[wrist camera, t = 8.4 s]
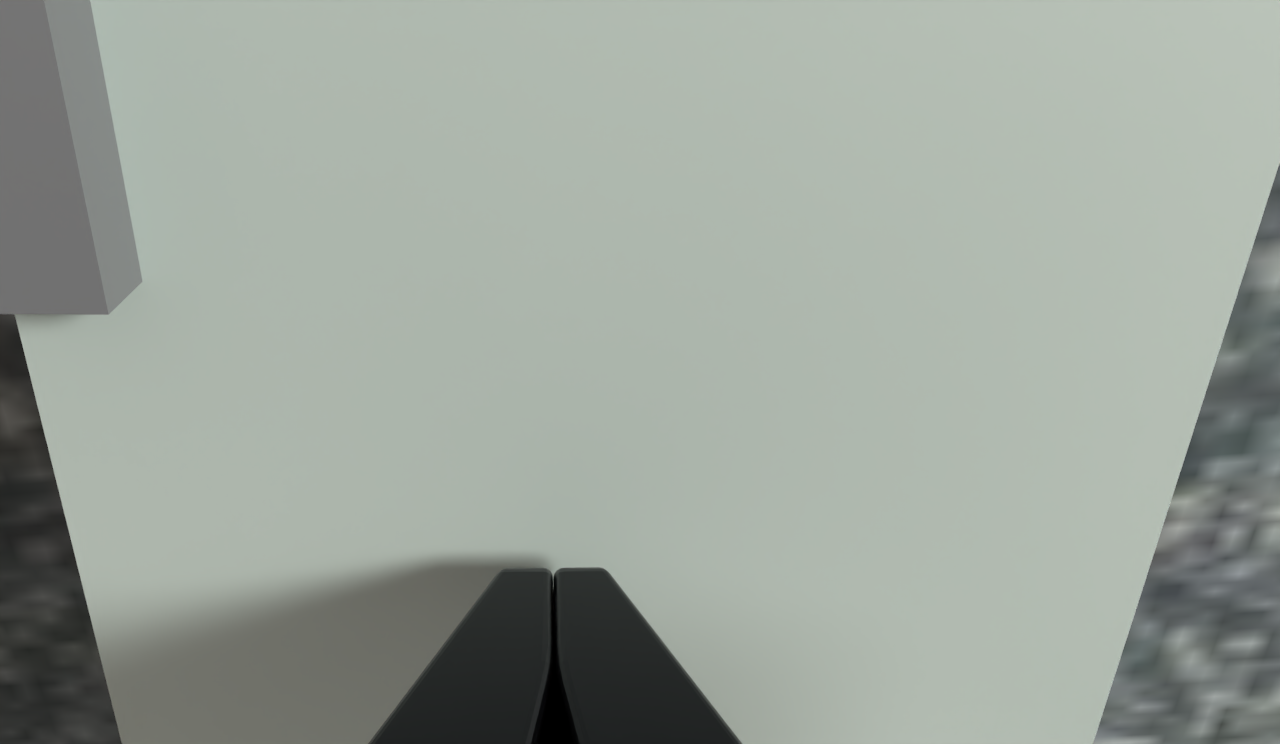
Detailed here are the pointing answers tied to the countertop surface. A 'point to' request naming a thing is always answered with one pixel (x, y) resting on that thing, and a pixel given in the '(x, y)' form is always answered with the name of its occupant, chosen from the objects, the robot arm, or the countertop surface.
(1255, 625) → the countertop surface
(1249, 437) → the countertop surface
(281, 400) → the lid
